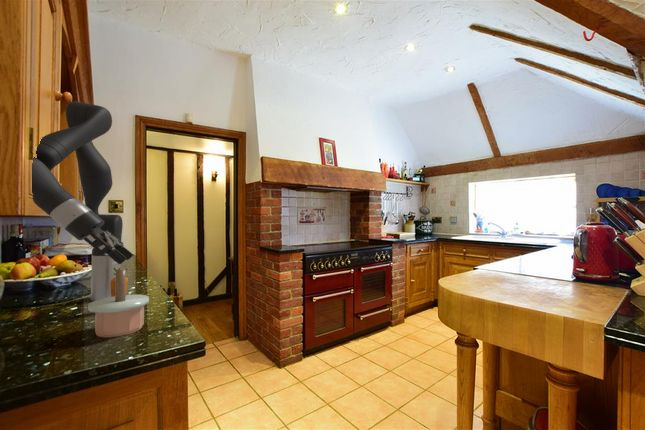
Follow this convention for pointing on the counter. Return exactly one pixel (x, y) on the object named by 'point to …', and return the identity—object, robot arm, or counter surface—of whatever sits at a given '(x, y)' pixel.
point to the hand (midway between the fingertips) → (127, 259)
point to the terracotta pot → (119, 322)
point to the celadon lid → (118, 298)
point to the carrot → (115, 282)
